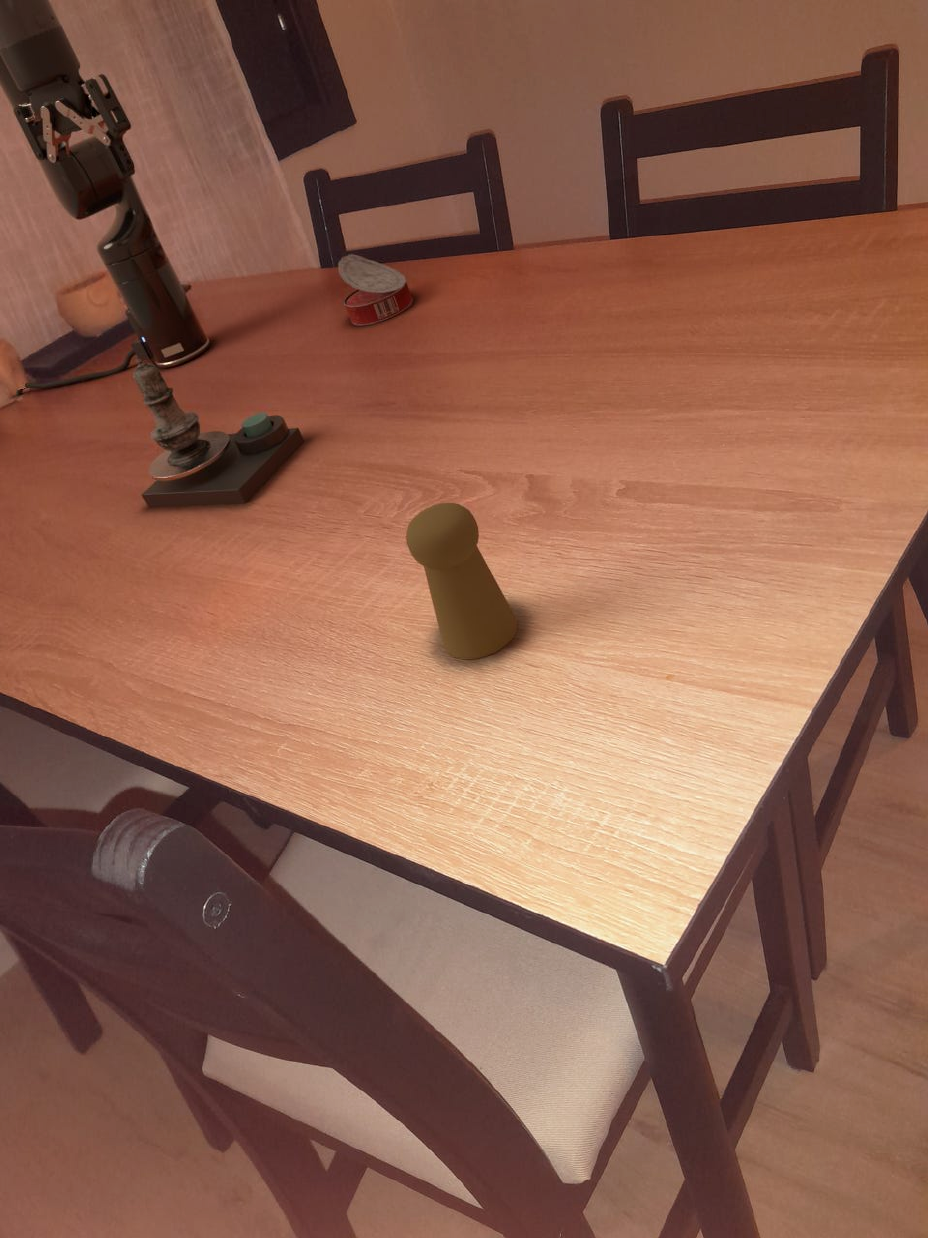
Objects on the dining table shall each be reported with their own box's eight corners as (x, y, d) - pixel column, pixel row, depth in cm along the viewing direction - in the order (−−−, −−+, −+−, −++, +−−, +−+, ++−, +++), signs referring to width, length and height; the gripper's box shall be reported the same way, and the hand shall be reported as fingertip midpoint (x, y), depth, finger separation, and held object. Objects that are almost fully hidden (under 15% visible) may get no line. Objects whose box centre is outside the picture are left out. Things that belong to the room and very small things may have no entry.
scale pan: (133, 483, 109) (131, 479, 109) (184, 437, 116) (182, 433, 116) (197, 479, 104) (195, 475, 104) (246, 431, 111) (244, 428, 111)
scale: (148, 508, 111) (133, 483, 109) (213, 446, 120) (200, 422, 118) (246, 504, 104) (231, 476, 102) (307, 439, 113) (295, 412, 111)
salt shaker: (200, 461, 107) (147, 364, 100) (157, 470, 109) (102, 375, 102) (220, 435, 111) (171, 340, 104) (178, 444, 113) (127, 351, 106)
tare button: (242, 439, 111) (236, 427, 110) (256, 425, 113) (251, 413, 112) (263, 437, 109) (257, 425, 108) (277, 423, 111) (272, 411, 110)
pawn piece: (440, 621, 76) (393, 507, 69) (512, 599, 75) (471, 481, 69) (445, 668, 71) (394, 550, 64) (523, 645, 70) (479, 523, 64)
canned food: (394, 326, 149) (397, 258, 146) (422, 329, 141) (425, 257, 138) (326, 322, 144) (327, 252, 141) (350, 325, 135) (352, 250, 132)
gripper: (93, 8, 104) (164, 161, 114) (10, 43, 111) (84, 184, 121) (47, 24, 100) (125, 183, 109) (-36, 60, 106) (44, 206, 116)
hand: (103, 183), depth 115 cm, fingers open, 8 cm apart
